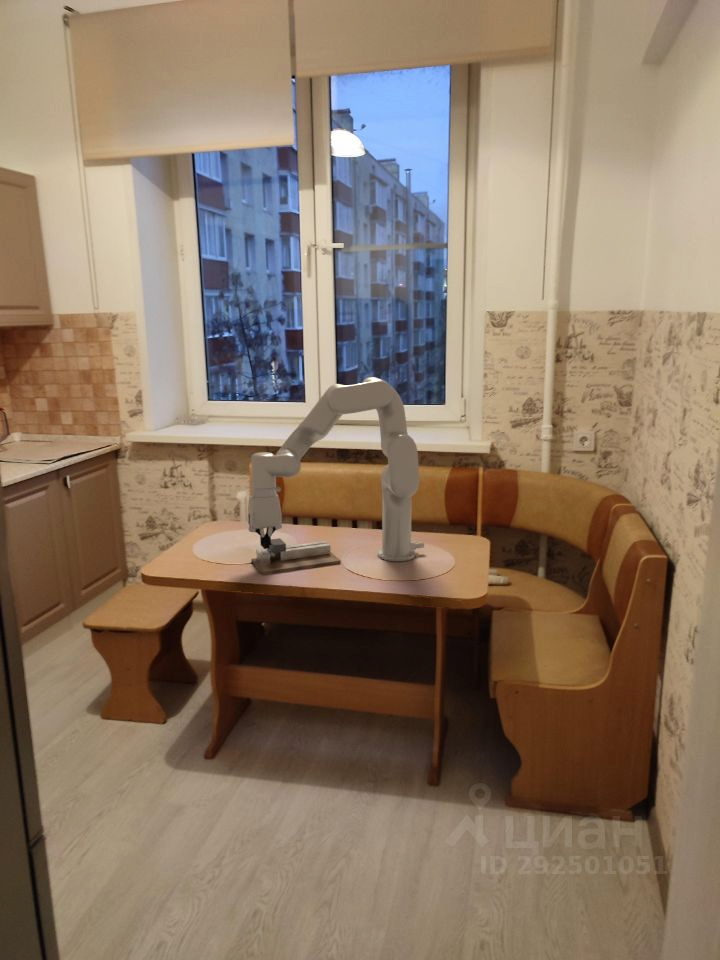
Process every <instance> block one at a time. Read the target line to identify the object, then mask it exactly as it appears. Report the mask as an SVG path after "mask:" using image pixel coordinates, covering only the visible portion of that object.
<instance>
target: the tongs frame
mask: <svg viewBox="0 0 720 960" xmlns="http://www.w3.org/2000/svg"><path fill="white" fill-rule="evenodd" d="M327 543H328V541H326V540H322V541H315V542H313V541H312V542H308V543H299V544H291V545H286V549H290V548H298V547H305V546H312V545H320V544H327ZM255 550H256V552H255V553H256V558H257V560H258V561H259V563H260V564H261V565H266V564H270V553H269V550H271V549H270V548H269V549H264V548H257V549H255ZM276 558H278V559H279V552H276Z"/></svg>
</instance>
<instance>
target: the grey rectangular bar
mask: <svg viewBox="0 0 720 960" xmlns="http://www.w3.org/2000/svg"><path fill="white" fill-rule="evenodd" d="M330 552H331V544H330V543H328V542H327V544H320V545H312V546H305V547H298V548H290V549H286V551H283V552H279V559H280V560H281V561H283V560H290V559H297V558H304V557H311V556H318V555H325V554H331V553H332V552H331V553H330ZM269 553H270V560H271V561H273V560H276V553H274V552H273V551H272V550H269Z"/></svg>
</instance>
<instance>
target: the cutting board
mask: <svg viewBox="0 0 720 960" xmlns="http://www.w3.org/2000/svg"><path fill="white" fill-rule="evenodd" d="M330 553H331V554H325V555H318V556H311V557H304V558H297V559H290V560H283V561H281V560H280V559H278V558H276V560H273V561H271V560H270V564H266V565H261V564H260V563H259V561H258V560H257V557H254V558H251V563H252V564H253V566H254V567H255V568H256V570H257V571H258V572H259V573H260V575H261V576H266V575H271V574H277V573H286V572H291V571H300V570H307V569H312V568H318V567H325V566H326V567H327V566H332V565H338V564H339V565H340V564H341V563H342V561H341V559H340V558H339V557H337V556H336V555H335V554H334V553H332V552H331V551H330Z"/></svg>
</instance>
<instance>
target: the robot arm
mask: <svg viewBox="0 0 720 960" xmlns="http://www.w3.org/2000/svg"><path fill="white" fill-rule="evenodd" d="M372 410H376V412H377V415H378V421H379V423H378V424H379V432H380V433H379V435H380V449H381V452H382V453H383V455H384V456H385V457H386V458H387V464H386V465H385V466H384V467H383V470H381V471H382V472H381V475H380V477H381V478H380V482H381V496H382V511H381V512H382V517H381V518H382V520H381V523H382V524H381V526H382V532H381V533H382V534H381V535H382V537H381V539H382V541H381V542H382V543H381V545H382V547H381V548H380V549H378V550H377V557H378V559H379V558H380V559H382V560H383V559H384V561H387V560H388V562H407V561H410V560H411V561H412V560H413V559H414V558H415V557H416V551H415V550H416V549H424V548H425V543H424V542H423V541H420V542H418V541H417V540H416V541H412V511H413V510H412V506H413V504H412V496H414V495H415V494H416V492H417V491H418V489H419V486H420V468H419V456H418V455H419V454H418V453H419V452H418V447H417V444H416V441H414V439H413V437H411V436H410V435H409V434H408V427H407V419H406V418H407V417H406V411H405V406H404V403H403V400H402V398H401V396H400V394H399V393H398V391H396V390H395V388H394V387H393V386H392V385H391V384H390V383H389V382H388V381H385V380H384V379H380V378H378V377H374V376H372V377H367V378H365V379H364V380H363V381H362V382H361V383H356V384H349V385H344V384H340V383H335V384H332V385H330V386H329V387H328V388H327V389H326V390H325V392H324V393H323V395H321V397H320V398H319V399H318V401H317V402H316V403H315V405H314V406H313V407H312V409H311V410H310V411H309V413H308V414H307V415H306V416H305V418H304V419H303V420H302V421H301V422H300V424H298V426H297V427H296V428H295V429H294V430H293V431H292V433H290V435H288V437H287V438H286V440H285V441H284V443H283V444H282V446H280V448H279V450H277V452H276V453H275V454H273V452H267V451H266V452H265V451H264V452H263V451H261V452H255V453H253V454H252V455H251V458H250V459H251V460H250V465H251V466H250V467H251V495H250V496H249V498H248V507H247V524H248V528H247V529H248V530H247V531H249V532H250V533H256V534H258V535H259V536H260V537H259V538H260V541H259V542H260V546H261V547H262V549H269V545H271V539H272V536H273V534H274V533H275V532H276V531H277V530H280V529H282V528H283V525H282V521H283V519H282V509H281V501H280V497H279V495H278V493H279V492H281V490H282V489H281V487H280V486H277V477H280V478H294V477H295V476H297V475H298V474H299V473H300V472H301V469H302V462H301V459H302V458H303V456H304V455H305V454H306V453H307V451H308V450H309V449H310V448H311V447H312V446H313V445H314V444H316V443H317V442H319V441H321V440H323V439H325V437H326V436H327V435H328V434H329V433H330V432H331V430H332V429H333V428H334V426H335V425H336V424H337V422H338V421H339V419H340V418H341V417H342V416H343V415H349V414H350V415H351V414H357V413H361V412H367V411H372ZM265 528H266V531H265Z"/></svg>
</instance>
